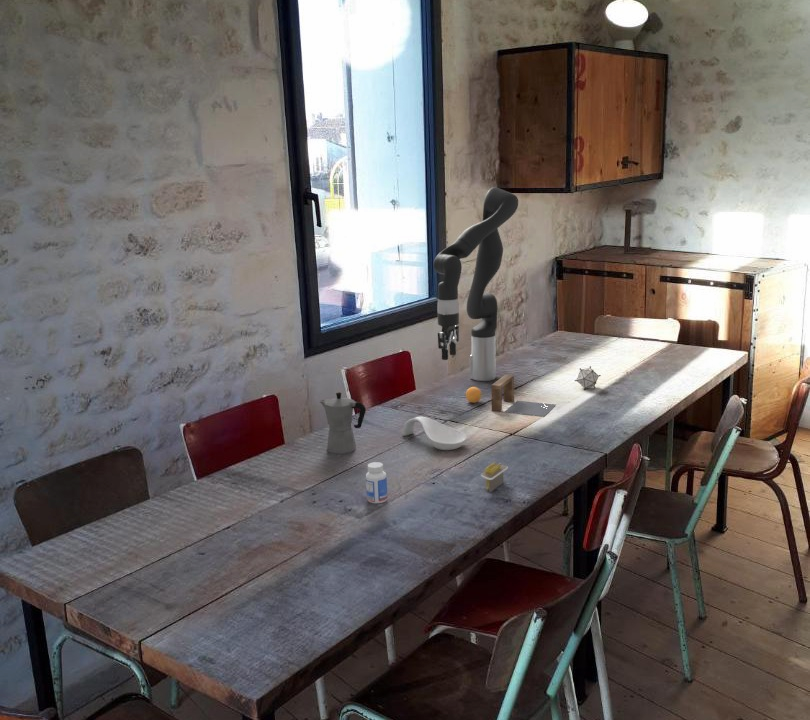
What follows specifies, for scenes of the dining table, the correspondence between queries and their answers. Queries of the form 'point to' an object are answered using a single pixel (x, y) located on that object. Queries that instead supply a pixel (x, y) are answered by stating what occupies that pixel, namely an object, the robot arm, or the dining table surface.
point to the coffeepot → (341, 423)
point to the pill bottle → (376, 483)
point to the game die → (587, 378)
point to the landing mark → (530, 408)
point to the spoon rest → (436, 433)
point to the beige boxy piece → (494, 475)
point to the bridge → (497, 392)
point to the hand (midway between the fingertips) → (449, 357)
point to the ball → (473, 394)
